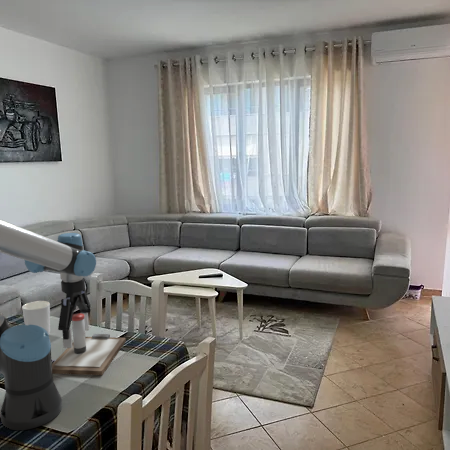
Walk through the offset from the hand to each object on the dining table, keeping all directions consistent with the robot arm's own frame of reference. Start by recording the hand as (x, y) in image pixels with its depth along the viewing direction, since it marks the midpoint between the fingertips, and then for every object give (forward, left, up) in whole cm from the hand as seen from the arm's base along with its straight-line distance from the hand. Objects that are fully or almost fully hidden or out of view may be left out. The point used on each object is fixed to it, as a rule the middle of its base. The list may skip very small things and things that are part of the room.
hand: (76, 338), depth 144 cm
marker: (+1, 0, -5) cm, 5 cm away
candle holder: (-23, +16, -7) cm, 29 cm away
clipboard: (+4, 0, -7) cm, 8 cm away
